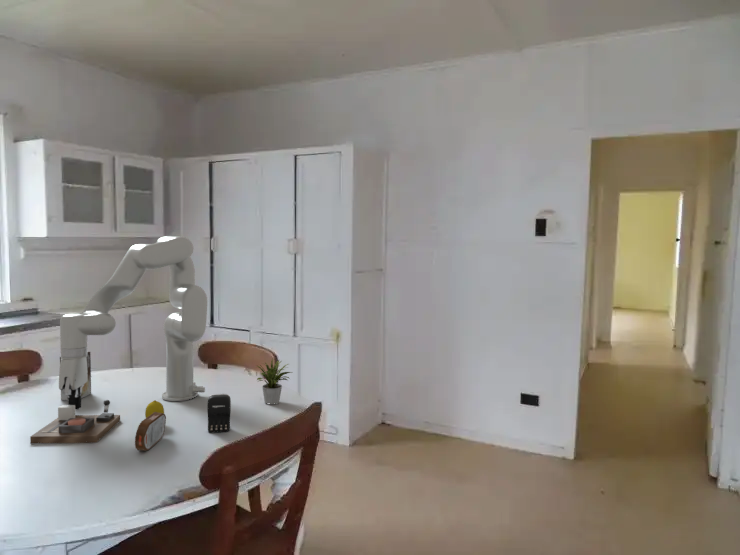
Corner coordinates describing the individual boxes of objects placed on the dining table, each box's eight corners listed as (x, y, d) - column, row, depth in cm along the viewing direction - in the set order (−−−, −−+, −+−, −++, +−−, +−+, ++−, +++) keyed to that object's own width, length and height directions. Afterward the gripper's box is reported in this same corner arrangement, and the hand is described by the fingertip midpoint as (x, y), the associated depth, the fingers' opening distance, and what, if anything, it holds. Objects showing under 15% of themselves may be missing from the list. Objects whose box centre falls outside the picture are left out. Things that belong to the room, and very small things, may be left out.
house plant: (261, 412, 180) (262, 366, 179) (242, 402, 190) (243, 358, 189) (296, 404, 189) (297, 360, 188) (276, 395, 200) (277, 353, 198)
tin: (157, 435, 158) (157, 407, 157) (168, 435, 158) (167, 408, 157) (133, 455, 143) (133, 425, 142) (145, 456, 143) (144, 425, 142)
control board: (120, 420, 168) (120, 408, 168) (96, 442, 151) (96, 429, 150) (61, 421, 167) (61, 409, 166) (30, 443, 149) (30, 429, 149)
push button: (88, 424, 158) (88, 418, 158) (81, 430, 154) (81, 423, 153) (72, 424, 158) (72, 418, 158) (65, 430, 153) (64, 423, 153)
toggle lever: (109, 412, 165) (111, 399, 166) (107, 412, 163) (109, 399, 164) (103, 412, 165) (105, 400, 166) (101, 412, 163) (103, 399, 164)
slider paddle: (75, 417, 164) (75, 405, 164) (71, 420, 162) (71, 407, 162) (62, 417, 164) (61, 405, 164) (58, 420, 162) (58, 407, 161)
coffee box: (75, 393, 196) (74, 350, 195) (91, 393, 196) (91, 351, 195) (60, 400, 187) (59, 356, 186) (77, 401, 187) (77, 356, 186)
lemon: (167, 423, 167) (167, 399, 167) (155, 429, 162) (155, 404, 162) (153, 421, 169) (153, 396, 169) (141, 426, 164) (141, 401, 163)
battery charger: (206, 434, 159) (206, 397, 158) (207, 429, 163) (207, 393, 162) (230, 433, 161) (230, 396, 160) (230, 428, 164) (230, 393, 163)
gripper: (73, 347, 174) (73, 401, 175) (49, 357, 159) (50, 416, 161) (96, 347, 175) (97, 401, 176) (75, 357, 160) (76, 416, 161)
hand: (74, 408), depth 168 cm, fingers closed
